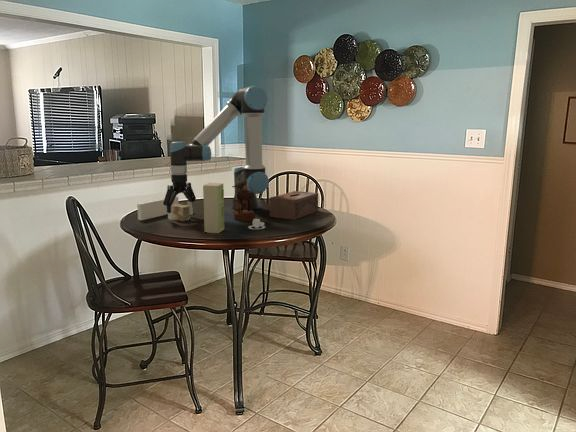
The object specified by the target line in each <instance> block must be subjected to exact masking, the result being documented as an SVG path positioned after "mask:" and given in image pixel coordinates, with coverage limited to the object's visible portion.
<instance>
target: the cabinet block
mask: <svg viewBox="0 0 576 432" xmlns="http://www.w3.org/2000/svg"><path fill="white" fill-rule="evenodd" d="M189 219H190V220H191V216H190V207H189V205H187V204H186V205H185V204H180V203H179V204H178V205H173V220H172V221H178V220H179V221H180V222H185V220H186V221H190V220H189Z"/></svg>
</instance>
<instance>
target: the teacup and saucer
mask: <svg viewBox="0 0 576 432" xmlns="http://www.w3.org/2000/svg"><path fill="white" fill-rule="evenodd" d="M252 227H254V228H252ZM265 228H266V225H265V222H264V221H261V219H260V218H255V219H253V220H252V225H248V226H247V229H250V230H254V229H259V230H263V229H265Z"/></svg>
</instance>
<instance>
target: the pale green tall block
mask: <svg viewBox="0 0 576 432" xmlns="http://www.w3.org/2000/svg"><path fill="white" fill-rule="evenodd" d="M202 189H203V191H202V194H203V220H204V221H203V222H204V223H203V225H204V230H203V231H204V233H205V232H207V233H208V234H220V233H221V232H223V230H225V201H224V199H225V194H224V193H225V192H224V191H225V190H224V183H222V182H208V183H206V184H205V183H204V184H203V186H202ZM207 233H206V234H207Z"/></svg>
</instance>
